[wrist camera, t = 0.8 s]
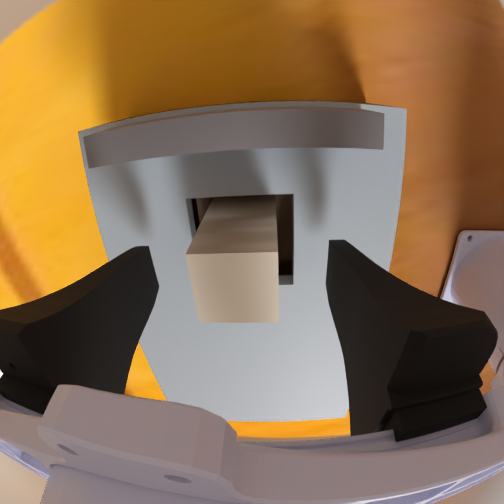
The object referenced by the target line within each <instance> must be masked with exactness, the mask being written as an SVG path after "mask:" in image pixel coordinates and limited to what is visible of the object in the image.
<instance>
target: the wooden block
mask: <svg viewBox="0 0 504 504" xmlns="http://www.w3.org/2000/svg"><path fill="white" fill-rule="evenodd" d="M185 255H186V260H187V265H188V270H189V275H190V280H191V285H192V289H193V294H194V299H195V303H196V308H197V312H198V317H199V321H200V322H206V323H269V322H279V278H278V241H277V221H276V202H275V194H270V195H244V196H224V197H214V198H213V200H212V202H211V203H210V205H209V207H208V209H207V211H206V213H205V215H204V217H203V219H202V221H201V223H200V225H199V227H198V229H197V231H196V233H195V236H194V238H193V240H192V242H191V244H190V246H189V248H188V250H187V252H186V254H185Z"/></svg>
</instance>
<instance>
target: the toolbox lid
mask: <svg viewBox="0 0 504 504" xmlns="http://www.w3.org/2000/svg"><path fill="white" fill-rule="evenodd" d="M406 115H407V109H404V108H398V107H390V106H380V105H370V104H357V103H341V102H307V101H292V102H258V103H241V104H228V105H217V106H208V107H199V108H191V109H184V110H177V111H170V112H164V113H158V114H152V115H147V116H142V117H136V118H132V119H127V120H122V121H118V122H113V123H109V124H105V125H101V126H97V127H93V128H89V129H86V130H82V131H79V132H78V134H79V140H80V146H81V152H82V157H83V162H84V168H85V172H86V177H87V182H88V186H89V191H90V195H91V199H92V203H93V207H94V211H95V215H96V219H97V222H98V226H99V230H100V233H101V237H102V240H103V244H104V247H105V250H106V253H107V257H108V260H109V261H111V260H112V259H114V258H115V257H117V256H119V255H120V254H122V253H124V252H125V251H127V250H129V249H131V248H133V247H135V246H149V249H150V253H151V257H152V260H153V264H154V268H155V272H156V276H157V279H158V283H159V290H158V294H157V298H156V301H155V305H154V307H153V310H152V312H151V314H150V317H149V319H148V321H147V324H146V326H145V328H144V330H143V333H142V335H141V337H140V340H139V343H140V345H141V347H142V349H143V352H144V354H145V356H146V358H147V361H148V363H149V365H150V367H151V369H152V371H153V373H154V375H155V377H156V380H157V382H158V384H159V386H160V388H161V390H162V392H163V394H164V396H165V397H166V399H167V401H171V402H177V403H182V404H186V405H191V406H196V407H201V408H203V409H205V410H207V411H209V412H211V413H214V414H216V415H218V416H220V417H222V418H223V419H224V420H226V421H256V422H273V421H304V420H320V419H332V418H342V417H346V414H347V412H348V409H349V398H348V389H347V380H346V372H345V365H344V358H343V353H342V349H341V345H340V341H339V338H338V334H337V331H336V328H335V324H334V321H333V317H332V314H331V310H330V307H329V303H328V296H327V290H326V273H327V260H328V247H329V240H342V239H344V240H346V241H347V242H349V243H350V244H351V245H353V246H354V247H355V248H357V249H358V250H359V251H360V252H362V253H363V254H364V255H366V256H367V257H368V258H369V259H371V260H372V261H373V262H375V263H376V264H378V265H379V266H380V267H382V268H383V269H385V270H386V271H388V272H389V267H390V262H391V257H392V251H393V246H394V240H395V234H396V228H397V221H398V214H399V207H400V199H401V190H402V181H403V170H404V158H405V142H406ZM270 194H293V274H292V275H283V276H278V278H279V322H269V323H206V322H200V321H199V317H198V312H197V308H196V303H195V299H194V294H193V289H192V285H191V280H190V275H189V270H188V265H187V260H186V255H185V254H186V252H187V250H188V248H189V246H190V244H191V242H192V240H193V238H194V236H195V233H196V228H195V222H194V215H193V209H192V202H191V198H207V197H224V196H244V195H270Z"/></svg>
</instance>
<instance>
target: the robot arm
mask: <svg viewBox="0 0 504 504" xmlns="http://www.w3.org/2000/svg"><path fill="white" fill-rule="evenodd" d="M469 236H470V237H469ZM468 237H469V238H468ZM158 290H159V283H158V279H157V276H156V272H155V268H154V264H153V260H152V257H151V253H150V249H149V246H135V247H133V248H131V249H129V250H127V251H125V252H124V253H122V254H120V255H119V256H117V257H115V258H114V259H112V260H111V261H109V262H108V263H106V264H104V265H103V266H101V267H100V268H98V269H96V270H95V271H93V272H91V273H90V274H88V275H87V276H85V277H83V278H82V279H80V280H78V281H76V282H74V283H73V284H71V285H69V286H67V287H65V288H63V289H61V290H59V291H56V292H54V293H51V294H49V295H47V296H44V297H42V298H40V299H37V300H34V301H31V302H28V303H25V304H22V305H18V306H15V307H10V308H6V309H2V310H0V370H1V371H2V373H4V374H3V375H2V377H1V378H0V451H1V452H2V453H4V454H5V455H7V456H8V457H10V458H12V459H13V460H15V461H16V462H18V463H20V464H21V465H23V466H25V467H26V468H28V469H30V470H31V471H33V472H35V473H36V474H38V475H40V476H42V477H44V478H46V479H47V480H48V481H47V484H46V487H45V490H44V493H43V496H42V499H41V502H40V504H431V503H434V502H437V501H439V500H442V499H444V498H446V497H449V496H451V495H454V494H456V493H458V492H461V491H463V490H465V489H467V488H469V487H471V486H474V485H476V484H478V483H480V482H482V481H484V480H486V479H488V478H490V477H492V476H493V475H495V474H497V473H498V472H500V471H501V470H503V469H504V231H488V230H464V231H462V232H460V234H459V236H458V239H457V243H456V247H455V251H454V254H453V258H452V262H451V265H450V268H449V272H448V275H447V278H446V281H445V285H444V288H443V291H442V294H441V296H440V298H438V297H435V296H433V295H430V294H428V293H426V292H424V291H421V290H419V289H417V288H415V287H413V286H411V285H409V284H408V283H406V282H404V281H402V280H400V279H399V278H397V277H395V276H394V275H392V274H391V273H389V272H388V271H386V270H385V269H383V268H382V267H380V266H379V265H378V264H376V263H375V262H373V261H372V260H371V259H369V258H368V257H367V256H366V255H364V254H363V253H362V252H360V251H359V250H358V249H357V248H355V247H354V246H353V245H351V244H350V243H349V242H347V241H346V240H344V239H342V240H329V247H328V260H327V273H326V290H327V296H328V303H329V307H330V310H331V314H332V317H333V321H334V324H335V328H336V331H337V334H338V338H339V341H340V345H341V349H342V353H343V358H344V365H345V372H346V380H347V389H348V398H349V412H350V430H351V436H350V437H341V438H331V439H320V440H308V441H286V442H243V441H239V440H238V437H237V433H236V432H235V430H234V429H233V428H232V427H231V426H230V425H229V424H228V423H227V421H226V420H224V419H223V418H222V417H220V416H218V415H216V414H214V413H211V412H209V411H207V410H205V409H203V408H201V407H196V406H191V405H186V404H182V403H177V402H171V401H162V400H154V399H147V398H140V397H134V396H128V395H124V392H125V387H126V383H127V378H128V373H129V370H130V366H131V362H132V359H133V355H134V352H135V349H136V347H137V344H138V342H139V340H140V337H141V335H142V333H143V330H144V328H145V326H146V324H147V321H148V319H149V317H150V314H151V312H152V310H153V307H154V305H155V301H156V298H157V294H158ZM488 361H489V363H490V365H491V367H492V369H493V371H494V373H495V375H496V376H495V377H494V379H493V380H492V381H491V382H490V385H491V387H492V390H490V391H488V392H487V393H486V394H484V395H483V396H482V394H481V392H480V389H479V388H481V386H482V385H483V382H482V379H481V377H480V375H479V374H480V373H481V371H482V370H483V368H484V366H485V365H486V363H487V362H488Z"/></svg>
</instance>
